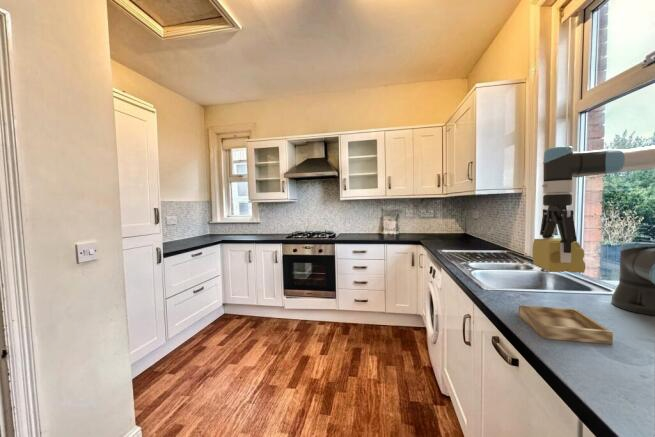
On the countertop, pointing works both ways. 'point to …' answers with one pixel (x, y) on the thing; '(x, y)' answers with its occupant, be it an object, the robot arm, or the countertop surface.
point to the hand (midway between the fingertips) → (556, 258)
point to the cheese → (557, 256)
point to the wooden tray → (565, 324)
